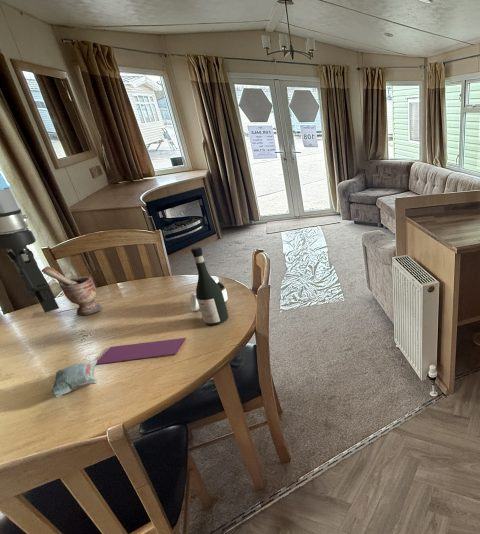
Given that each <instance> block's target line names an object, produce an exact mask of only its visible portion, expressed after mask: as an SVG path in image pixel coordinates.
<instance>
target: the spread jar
mask: <svg viewBox="0 0 480 534" xmlns="http://www.w3.org/2000/svg"><path fill="white" fill-rule="evenodd" d="M210 276H211V277H212V278H213V280H214V281H215V282H216V283H217V284H218V285H219V287H220V289H221V291H222V293H223V297H224V301H225V304H226V303H227V301H228V300H229V298H228V293H227V288H226V287H225V285H224V284H223V283H222V282H221V281H220V280H219V277H218V276H216V275H210ZM189 307H190V308H189V309H190V310H191V311H192V312H198V311H200V307H199V304H198V301H197V298H196V293H192V294H191V295H190V297H189Z"/></svg>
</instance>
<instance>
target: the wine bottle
mask: <svg viewBox="0 0 480 534" xmlns="http://www.w3.org/2000/svg"><path fill="white" fill-rule="evenodd" d="M190 251H191V254H192V257H193V259H194V263H195V266H196V269H197V275H198V276H197V283H196V287H195V294H196V298H197V301H198V304H199V311H200V314H201V317H202V320H203V323H204V324H205V325H208V326H217V325H221V324H223V323H225V322H226V321H227V320H228V319H229V312H228V308H227V305H226V303H225V301H224V297H223V293H222V291H221V289H220V287H219V285H218V284H217V283H216V282H215V281H214V280H213V278H212V277H211V276H212V275H210V273H209V271H208V269H207V265H206V263H205V258H204V255H203V249H202V247H201V246H195V247H191V248H190Z"/></svg>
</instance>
